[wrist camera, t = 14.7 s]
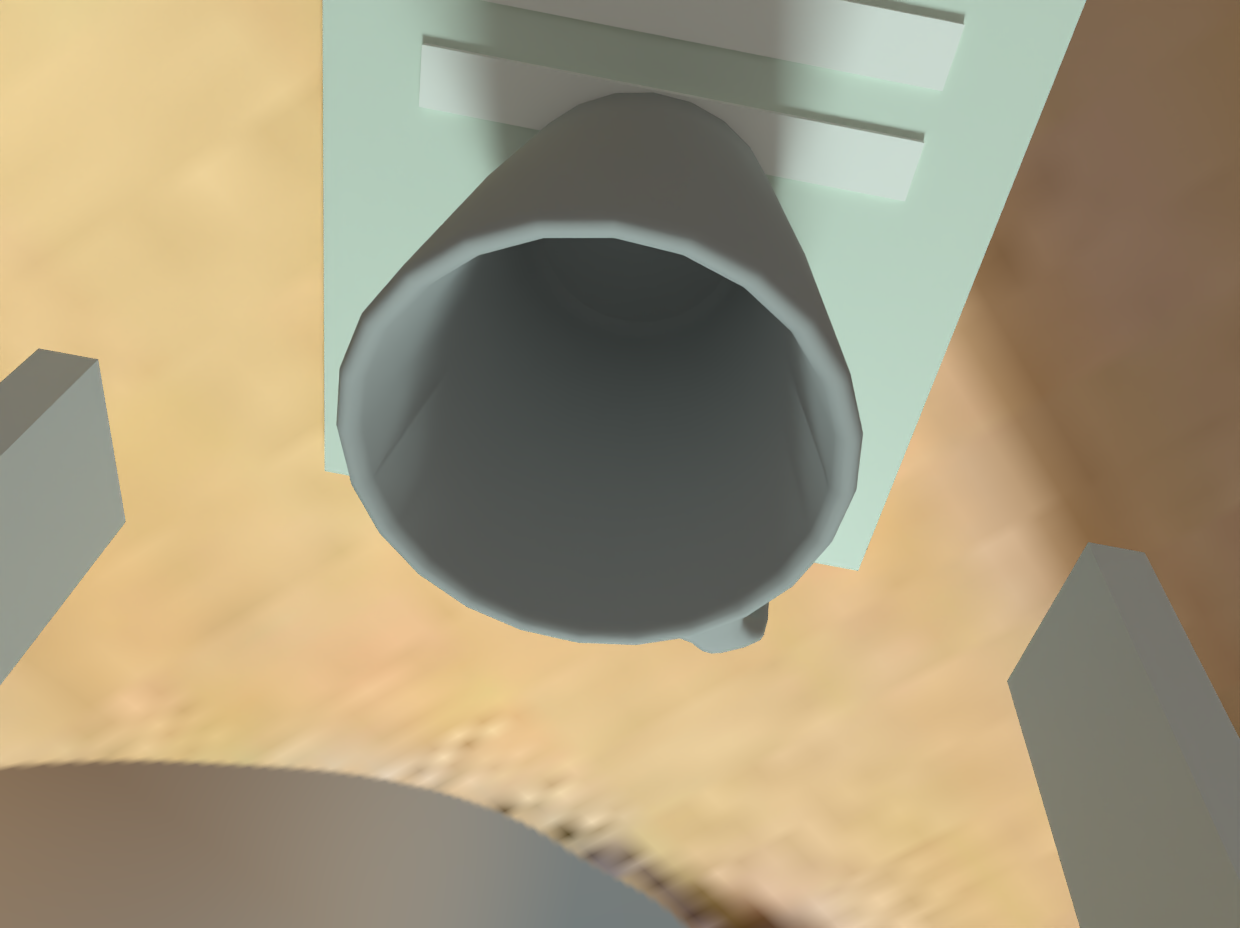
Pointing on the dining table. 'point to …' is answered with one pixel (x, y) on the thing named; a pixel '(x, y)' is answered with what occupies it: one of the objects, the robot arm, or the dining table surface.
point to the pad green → (753, 108)
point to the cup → (608, 389)
